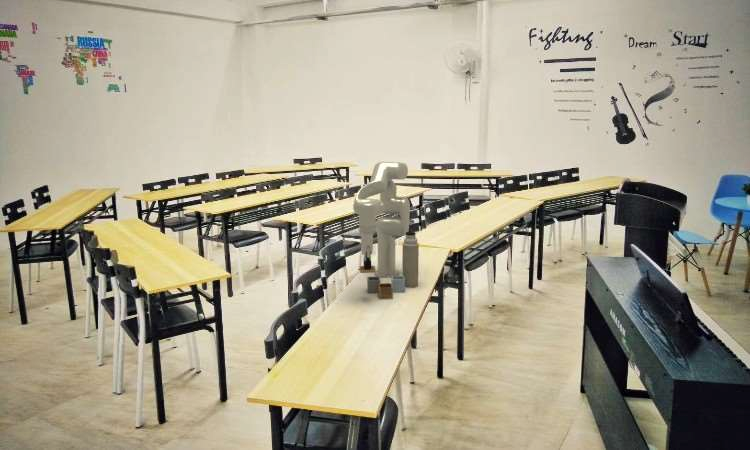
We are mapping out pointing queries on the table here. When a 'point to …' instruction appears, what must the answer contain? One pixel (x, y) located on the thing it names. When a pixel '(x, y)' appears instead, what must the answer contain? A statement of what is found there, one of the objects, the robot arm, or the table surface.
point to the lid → (367, 270)
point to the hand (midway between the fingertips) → (367, 267)
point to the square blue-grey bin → (398, 283)
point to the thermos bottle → (410, 260)
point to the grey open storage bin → (373, 284)
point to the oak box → (385, 291)
